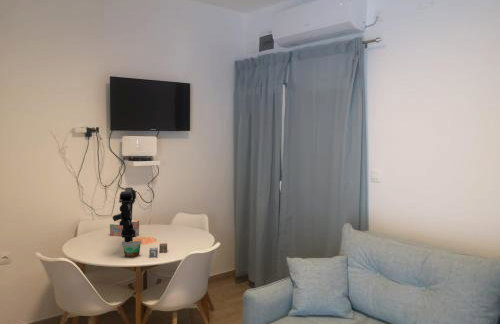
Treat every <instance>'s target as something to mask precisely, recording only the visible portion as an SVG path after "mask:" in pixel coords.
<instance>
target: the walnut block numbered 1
mask: <svg viewBox="0 0 500 324" xmlns="http://www.w3.org/2000/svg"><path fill="white" fill-rule="evenodd" d="M158 250H159V253H158V254H165V253H166V254H167V253H168V243H166V242H165V243H164V242H163V243H159V247H158Z"/></svg>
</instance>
